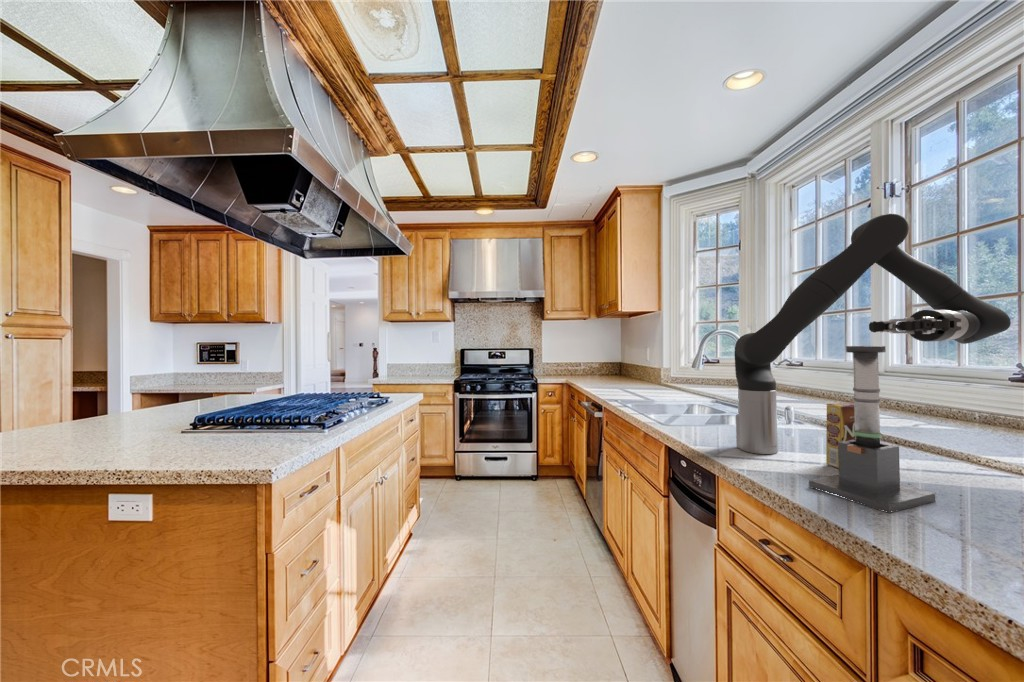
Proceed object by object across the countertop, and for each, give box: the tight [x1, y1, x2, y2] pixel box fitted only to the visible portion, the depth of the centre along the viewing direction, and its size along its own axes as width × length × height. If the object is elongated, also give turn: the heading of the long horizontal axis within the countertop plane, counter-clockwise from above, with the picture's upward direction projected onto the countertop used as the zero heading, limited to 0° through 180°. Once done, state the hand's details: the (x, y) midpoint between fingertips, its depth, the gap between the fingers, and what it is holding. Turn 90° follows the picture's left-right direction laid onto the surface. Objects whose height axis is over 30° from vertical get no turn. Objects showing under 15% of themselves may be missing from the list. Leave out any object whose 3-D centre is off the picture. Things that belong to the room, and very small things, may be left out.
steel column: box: [845, 345, 887, 448], centre depth 82 cm, size 6×6×21 cm
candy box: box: [825, 402, 855, 469], centre depth 99 cm, size 9×4×15 cm, turn 98°
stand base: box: [808, 440, 936, 513], centre depth 82 cm, size 14×14×10 cm
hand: (893, 325), depth 91 cm, fingers open, 8 cm apart
